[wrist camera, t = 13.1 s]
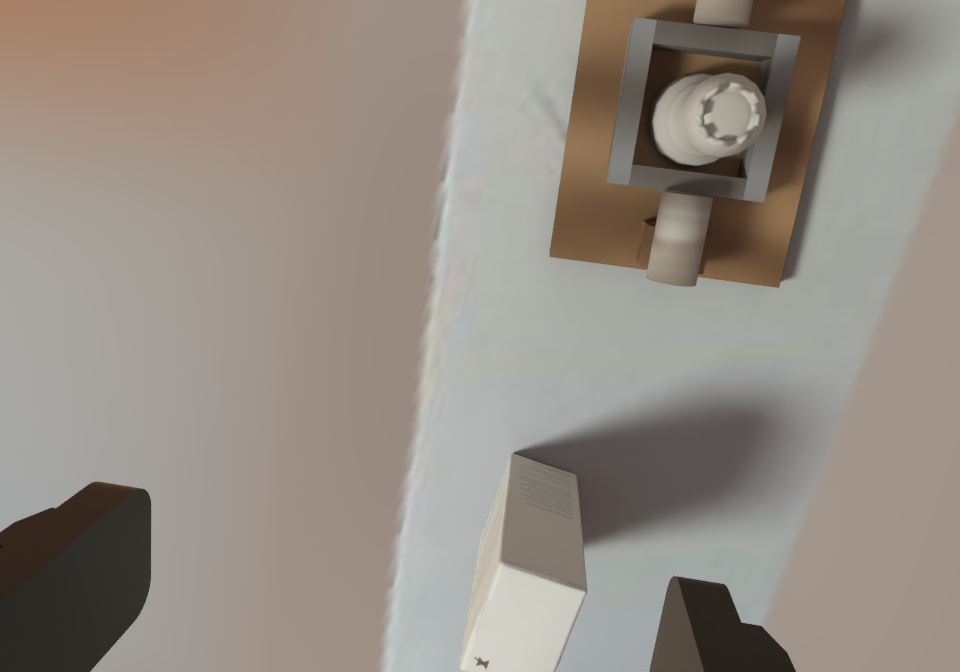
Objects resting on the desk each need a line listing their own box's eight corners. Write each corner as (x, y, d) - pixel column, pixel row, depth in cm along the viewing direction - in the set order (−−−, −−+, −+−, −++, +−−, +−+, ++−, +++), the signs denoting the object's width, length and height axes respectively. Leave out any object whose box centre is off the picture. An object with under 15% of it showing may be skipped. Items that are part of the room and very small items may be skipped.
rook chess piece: (721, 58, 35) (767, 33, 28) (751, 145, 36) (804, 144, 29) (633, 97, 36) (655, 84, 29) (665, 181, 37) (694, 190, 29)
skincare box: (547, 558, 44) (544, 703, 33) (480, 535, 44) (454, 672, 33) (580, 471, 43) (590, 592, 31) (511, 448, 43) (496, 560, 31)
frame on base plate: (773, 284, 39) (802, 302, 34) (549, 254, 40) (548, 268, 35) (849, -45, 35) (894, -74, 30) (597, -72, 36) (603, -104, 31)
